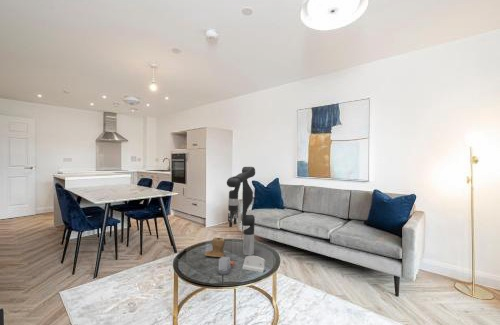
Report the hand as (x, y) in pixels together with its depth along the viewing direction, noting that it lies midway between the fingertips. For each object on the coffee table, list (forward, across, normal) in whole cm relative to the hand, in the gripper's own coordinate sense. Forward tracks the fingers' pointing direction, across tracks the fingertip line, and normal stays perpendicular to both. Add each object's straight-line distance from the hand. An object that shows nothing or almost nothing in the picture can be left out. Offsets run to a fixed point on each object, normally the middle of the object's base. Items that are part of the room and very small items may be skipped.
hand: (232, 225), depth 182 cm
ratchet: (+29, -10, -1) cm, 31 cm away
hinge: (+30, -2, -18) cm, 35 cm away
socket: (+26, -16, -1) cm, 31 cm away
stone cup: (+31, +13, +20) cm, 39 cm away
